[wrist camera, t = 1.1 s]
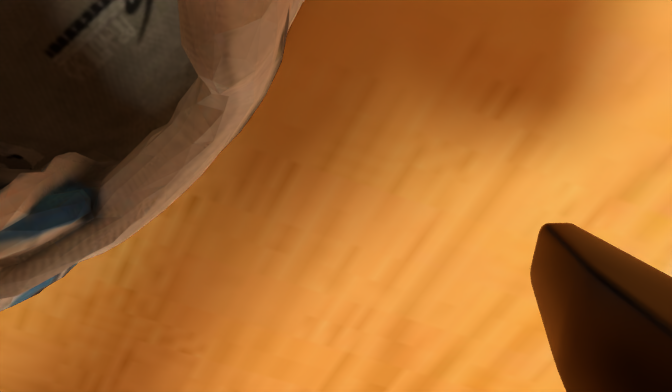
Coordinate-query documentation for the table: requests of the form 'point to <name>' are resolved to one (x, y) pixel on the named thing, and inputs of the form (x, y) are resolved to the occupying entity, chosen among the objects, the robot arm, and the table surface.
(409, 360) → the table surface
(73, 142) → the athletic shoe
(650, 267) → the robot arm
